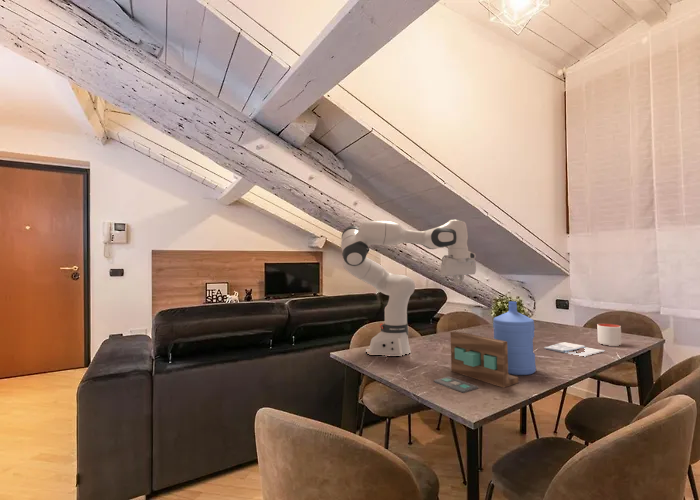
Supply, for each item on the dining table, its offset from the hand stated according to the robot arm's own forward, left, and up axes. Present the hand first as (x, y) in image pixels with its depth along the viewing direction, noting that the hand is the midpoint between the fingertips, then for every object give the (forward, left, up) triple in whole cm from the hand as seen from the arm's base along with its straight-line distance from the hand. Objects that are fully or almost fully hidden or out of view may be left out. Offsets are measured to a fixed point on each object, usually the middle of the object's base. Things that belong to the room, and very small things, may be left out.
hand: (458, 285), depth 167 cm
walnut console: (+2, -23, -34) cm, 41 cm away
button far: (-3, -19, -28) cm, 34 cm away
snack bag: (+59, +15, -35) cm, 70 cm away
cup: (+83, +26, -34) cm, 94 cm away
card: (-11, -33, -34) cm, 48 cm away
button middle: (-2, -26, -28) cm, 39 cm away
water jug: (+18, -15, -34) cm, 42 cm away
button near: (+5, -30, -28) cm, 42 cm away
